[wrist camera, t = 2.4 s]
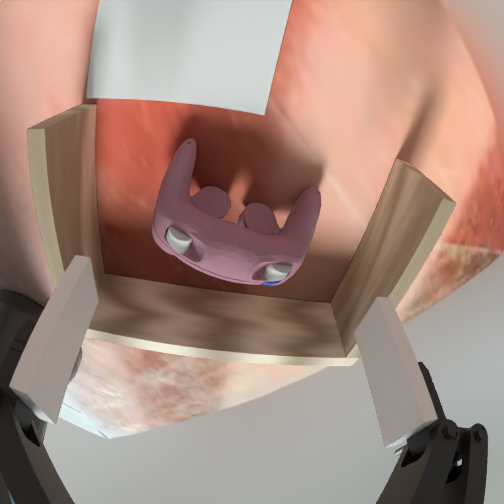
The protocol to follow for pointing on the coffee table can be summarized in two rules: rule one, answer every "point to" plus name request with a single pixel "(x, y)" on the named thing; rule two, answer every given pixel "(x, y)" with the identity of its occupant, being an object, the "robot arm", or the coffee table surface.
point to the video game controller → (230, 229)
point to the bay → (220, 302)
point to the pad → (187, 51)
